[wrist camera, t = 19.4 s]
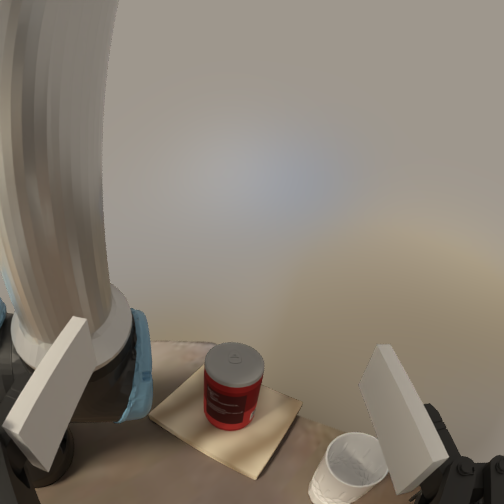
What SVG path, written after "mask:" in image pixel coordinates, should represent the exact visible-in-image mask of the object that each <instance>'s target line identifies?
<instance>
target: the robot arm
mask: <svg viewBox="0 0 504 504" xmlns="http://www.w3.org/2000/svg"><path fill="white" fill-rule="evenodd" d="M118 2H119V0H0V272H1V274H2V277H3V280H4V283H5V285H6V289H7V291H8V294H9V296H10V299H11V301H12V304H13V306H14V309H15V312H14V314H10V313H7V312H6V306H5V304H4V302H2V300H1V298H0V504H40V501H39V499H38V496H37V494H36V491H35V489H34V488H36V487H43V486H46V485H49V484H51V483H53V482H55V481H56V480H58V479H59V478H60V477H61V476H62V475H63V474H64V473H65V472H66V470H67V469H68V467H69V465H70V463H71V461H72V458H73V452H74V442H73V437H72V434H71V432H70V429H69V428H68V424H69V422H71V423H87V422H114V423H121V422H124V421H127V420H136V419H141V418H143V417H145V416H146V415H147V414H148V413H149V412H150V410H151V407H152V400H153V379H152V375H151V372H152V355H151V344H150V335H149V328H148V323H147V319H146V316H145V315H144V313H143V312H142V311H140V310H134V309H133V308H130V306H129V304H128V301H127V299H126V297H125V296H124V295H123V293H122V292H121V291H120V290H119V289H118V288H116V287H115V286H114V285H113V284H111V283H110V279H109V271H108V262H107V252H106V242H105V229H104V213H103V192H102V191H103V190H102V138H103V114H104V99H105V87H106V78H107V69H108V61H109V53H110V46H111V40H112V33H113V28H114V22H115V17H116V12H117V7H118ZM358 386H359V389H360V391H361V394H362V396H363V399H364V402H365V405H366V407H367V410H368V413H369V415H370V418H371V421H372V424H373V426H374V429H375V432H376V435H377V438H378V441H379V444H380V446H381V449H382V452H383V455H384V458H385V461H386V464H387V467H388V470H389V473H390V476H391V479H392V482H393V485H394V489H395V492H396V495H399V494H403V493H407V492H410V491H413V490H414V489H415V488H416V487H417V486H419V485H420V486H421V490H420V491H419V492H418V493H417V494H415V495H414V496H413V497H411V499H410V500H409V502H412V501H413V500H414V499H415V498H416V500H415V502H414V504H504V456H501V455H498V456H495V457H494V458H493V459H492V460H491V461H490V462H488V463H474V462H473V461H472V460H471V459H470V458H468V457H464V456H461V455H460V454H459V452H458V450H457V447H456V445H455V444H454V442H453V439H452V437H451V435H450V434H449V432H448V430H447V429H446V426H445V424H444V422H442V418H441V416H440V414H439V412H438V411H437V410H436V409H435V408H434V407H433V406H432V405H431V404H430V403H429V404H423V403H422V401H421V399H420V397H419V395H418V393H417V392H416V390H415V388H414V386H413V384H412V382H411V380H410V378H409V377H408V375H407V373H406V371H405V369H404V368H403V366H402V364H401V362H400V360H399V359H398V357H397V355H396V353H395V352H394V350H393V348H392V346H391V345H390V344H377V345H376V347H375V349H374V352H373V354H372V356H371V359H370V361H369V363H368V365H367V367H366V370H365V372H364V374H363V376H362V379H361V380H360V382H359V384H358ZM483 497H484V499H483V503H482V498H483Z"/></svg>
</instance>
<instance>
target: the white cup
mask: <svg viewBox="0 0 504 504" xmlns="http://www.w3.org/2000/svg"><path fill="white" fill-rule="evenodd" d="M388 471H389V470H388V467H387V464H386V461H385V458H384V455H383V452H382V449H381V446H380V444H379V441H378V439H377V438H375V437H374V436H371V435H369V434H366V433H360V432H350V433H345V434H342V435H340V436H338V437H337V438H335V439H334V440H333V441H332V442H331V443H330V445H329V446H328V448H327V450H326V452H325V454H324V456H323V458H322V459H321V461H320V463H319V465H318V467H317V469H316V471H315V473H314V476H313V478H312V480H311V482H310V483H309V490H308V494H309V496H310V499H311V501H312V502H313V503H314V504H351V503H352V502H355V501H356V500H357V499H359V498H360V497H361V496H363V495H364V494H366V493H367V492H368V491H369V490H371V489H372V488H373V487H374V486H375V485H376V484H378V483H379V482H380V481H381V480H382V479H383V478H384V477H385V476H386V475H387V473H388Z"/></svg>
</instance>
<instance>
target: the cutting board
mask: <svg viewBox="0 0 504 504" xmlns="http://www.w3.org/2000/svg"><path fill="white" fill-rule="evenodd" d="M302 404H303V402H301V401H299V400H297V399H294V398H292V397H289V396H287V395H284V394H282V393H280V392H277V391H275V390H273V389H270V388H268V387H266V386H264V385H261V388H260V392H259V397H258V401H257V405H256V410H255V414H254V417H253V419H252V421H251V422H250V423H249V424H248V425H247V426H246V427H244V428H242V429H240V430H236V431H225V430H221V429H219V428H216V427H215V426H213V425H212V424H211V423H210V422H209V421H208V419H207V418H206V416H205V413H204V408H203V407H204V365H203V366H202V367H201V368H199V369H198V370H197V371H196V372H195V373H194V374H193V375H192V376H191V377H190V378H188V379H187V380H186V381H185V382H184V383H183V384H182V385H181V386H180V387H178V388H177V389H176V390H175V391H174V392H173V393H172V394H170V395H169V396H168V397H167V398H166V399H165V400H164V401H163V402H161V403H160V404H159V405H158V406H157V407H156V408H154V409H153V410H152V411H151V412H150V413H149V414H148V415H149V419H151V420H152V421H154V422H155V423H157V424H158V425H160V426H161V427H162V428H164V429H165V430H167V431H168V432H170V433H172V434H173V435H175V436H176V437H178V438H179V439H181V440H182V441H184V442H186V443H187V444H189V445H191V446H192V447H194V448H196V449H197V450H199V451H201V452H202V453H204V454H206V455H208V456H209V457H211V458H213V459H215V460H216V461H218V462H220V463H222V464H224V465H226V466H228V467H230V468H231V469H233V470H235V471H237V472H239V473H241V474H243V475H245V476H247V477H250V478H252V479H254V480H256V479H257V477H258V476H259V475H260V473H261V472H262V470H263V469H264V467H265V466H266V464H267V463H268V461H269V460H270V458H271V456H272V455H273V453H274V452H275V450H276V449H277V447H278V445H279V444H280V442H281V441H282V439H283V437H284V436H285V434H286V433H287V431H288V429H289V428H290V426H291V424H292V422H293V421H294V419H295V417H296V416H297V414H298V412H299V410H300V409H301V407H302Z"/></svg>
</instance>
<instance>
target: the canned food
mask: <svg viewBox="0 0 504 504" xmlns="http://www.w3.org/2000/svg"><path fill="white" fill-rule="evenodd" d="M263 373H264V361H263V358H262V356H261V355H260V354H259V353H258V352H257V351H256V350H255V349H254V348H252V347H250V346H247V345H245V344H241V343H234V342H228V343H222V344H219V345H217V346H215V347H213V348H212V349H210V350H209V352H208V353H207V355H206V358H205V364H204V407H203V408H204V413H205V416H206V418H207V419H208V421H209V422H210V423H211V424H212V425H213V426H215V427H216V428H219V429H221V430H225V431H236V430H240V429H242V428H244V427H246V426H247V425H248V424H249V423H250V422H251V421H252V419H253V417H254V414H255V410H256V405H257V401H258V397H259V392H260V388H261V383H262V378H263Z"/></svg>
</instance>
